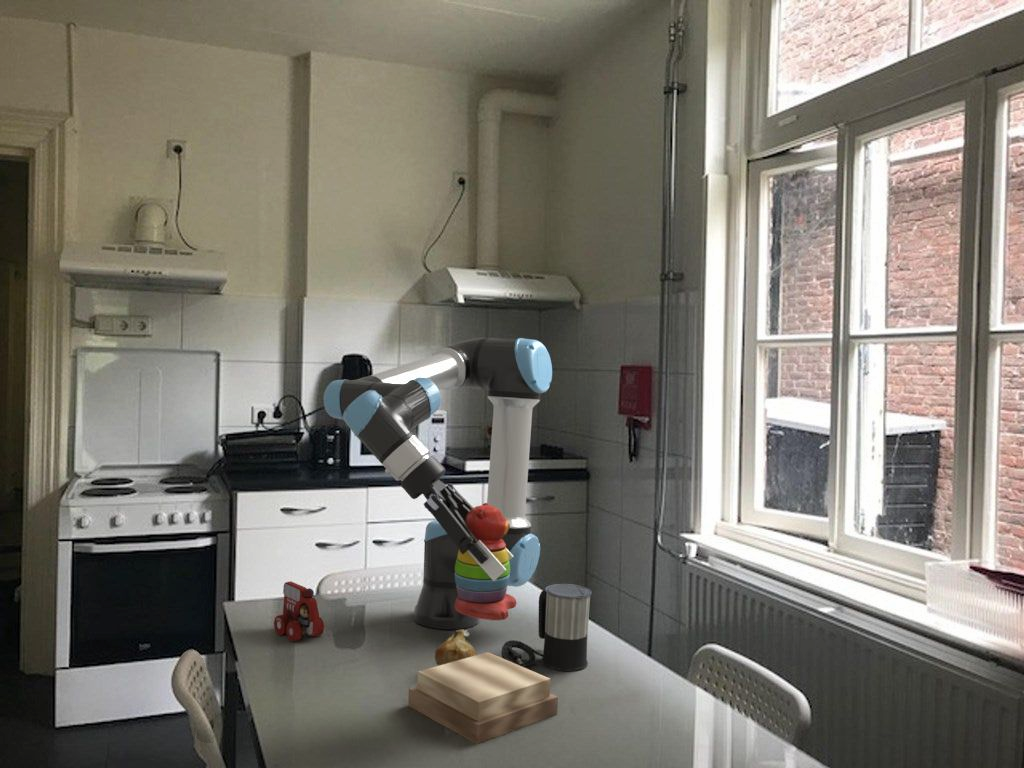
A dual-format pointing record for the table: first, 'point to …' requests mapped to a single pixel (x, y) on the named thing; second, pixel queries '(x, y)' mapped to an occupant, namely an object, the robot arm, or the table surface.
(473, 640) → the table surface
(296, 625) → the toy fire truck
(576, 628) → the milk frother
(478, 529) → the stacking bear
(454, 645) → the onion
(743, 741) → the table surface
